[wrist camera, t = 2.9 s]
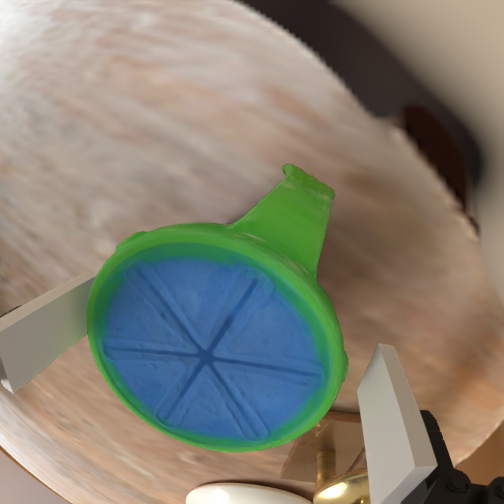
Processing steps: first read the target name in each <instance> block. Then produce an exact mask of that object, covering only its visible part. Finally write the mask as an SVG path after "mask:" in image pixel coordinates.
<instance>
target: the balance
mask: <svg viewBox="0 0 504 504" xmlns="http://www.w3.org/2000/svg"><path fill="white" fill-rule="evenodd" d="M364 447H365V443H364V435H363V428H362V421H361V414H357V413H347V412H339V411H331V410H328V412H327V413H326V415H325V416H324V417H323V418H322V419H321V420H320V421H319V422H318V423H317V424H316V425H315V426H314V427H313V428H311V430H309V431H307V432H306V433H304V434H302V435H301V436H299V437H297V439H296V441H295V443H294V445H293V448H292V450H291V452H290V454H289V456H288V458H287V460H286V462H285V464H284V466H283V468H282V472H281V478H283V479H290V480H297V481H306V482H315V493H314V500H313V504H371V500H370V489H369V478H368V468H363V469H358V470H354V471H351V472H348V473H346V472H347V471H348V469H349V468H350V467H351V465H352V464H353V462H354V461H355V460H356V458H357V457H358V455H359V454H360V452H361V451H362V449H363V448H364ZM400 504H401V503H400Z"/></svg>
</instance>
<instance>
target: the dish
mask: <svg viewBox="0 0 504 504" xmlns="http://www.w3.org/2000/svg"><path fill="white" fill-rule="evenodd" d="M186 504H313V503H312V502H311V501H309V500H307V499H306V498H303V497H301V496H299V495H297V494H294V493H291V492H288V491H284V490H280V489H276V488H271V487H266V486H260V485H253V484H243V483H213V484H206V485H201V486H198V487H196V488H194V489H192V490H191V491H190V492H189V494H188V496H187V498H186Z"/></svg>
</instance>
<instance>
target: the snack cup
mask: <svg viewBox="0 0 504 504" xmlns="http://www.w3.org/2000/svg"><path fill="white" fill-rule="evenodd" d="M282 169H283V172H284V174H285V175H286V178H285V179H284V180H283V181H281V182H280V183H279V185H277V186H276V187H275V188H274V189H273V190H272V191H271V192H270V193H269V194H268V195H267V196H266V197H265V198H263V199H262V200H261V201H260V202H259V203H258V204H257V205H256V206H255V207H254V208H252V209H251V210H250V211H249V212H248V213H247V214H246V215H245V216H243V217H242V218H241V219H239V220H238V221H236V222H235V223H230V224H226V225H223V224H215V223H183V224H178V225H171V226H166V227H162V228H159V229H156V230H153V231H150V232H144V231H142V232H137V233H135V234H132V235H131V236H130V237H128V238H127V239H125V240H124V241H123V242H122V243H120V244H119V245H117V247H116V252H115V253H114V254H113V255H112V256H111V257H110V258H109V259H108V260H107V261H106V262H105V264H104V265H103V267H102V268H101V269H100V271H99V272H98V274H97V276H96V277H95V279H94V282H93V284H92V287H91V289H90V293H89V297H88V302H87V310H86V324H87V333H88V339H89V343H90V347H91V350H92V353H93V356H94V358H95V361H96V363H97V366H98V368H99V369H100V371H101V373H102V375H103V377H104V378H105V380H106V382H107V383H108V385H109V386H110V387H111V389H112V390H113V391H114V392H115V394H116V395H117V396H118V398H119V399H120V400H121V401H122V402H123V403H124V404H125V405H126V406H127V407H128V408H129V409H130V410H131V411H132V412H133V413H135V414H136V415H137V416H138V417H140V418H141V419H142V420H144V421H145V422H147V423H148V424H149V425H151V426H152V427H154V428H155V429H157V430H159V431H161V432H163V433H165V434H167V435H169V436H171V437H173V438H175V439H177V440H180V441H183V442H185V443H188V444H191V445H194V446H197V447H201V448H206V449H210V450H216V451H225V452H248V451H257V450H263V449H268V448H272V447H276V446H279V445H282V444H285V443H287V442H289V441H292V440H294V439H295V438H297V437H299V436H301V435H302V434H304V433H306V432H307V431H309V430H311V428H313V427H314V426H315V425H316V424H317V423H318V422H319V421H320V420H321V419H322V418H323V417H324V416H325V415H326V413H327V412H328V410H329V409H330V407H331V406H332V404H333V403H334V401H335V399H336V397H337V394H338V392H339V389H340V386H341V384H342V383H343V382H344V380H345V377H346V374H347V371H348V357H347V354H346V352H345V351H344V345H343V337H342V333H341V329H340V325H339V322H338V319H337V317H336V314H335V311H334V308H333V306H332V304H331V302H330V300H329V298H328V296H327V294H326V293H325V291H324V290H323V288H322V287H321V285H320V284H319V282H318V281H317V267H318V262H319V258H320V254H321V251H322V247H323V242H324V238H325V234H326V229H327V225H328V219H329V216H330V211H331V205H332V199H334V197H335V193H334V191H333V189H331V188H330V187H328V186H327V185H325V184H324V183H322V182H320V181H318V180H317V179H315V178H314V177H313V176H311V175H309V174H307V173H305V172H304V171H303V170H302V169H300V168H298V167H296V166H294V165H291V164H286V165H285V166H283V168H282Z"/></svg>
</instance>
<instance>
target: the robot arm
mask: <svg viewBox="0 0 504 504" xmlns="http://www.w3.org/2000/svg"><path fill="white" fill-rule="evenodd" d="M96 276H97V275H96V274H93V273H90V272H87V271H85V272H83V273H81V274H79V275H78V276H76V277H74V278H72V279H70V280H68V281H66V282H64V283H62V284H60V285H59V286H57V287H55V288H53V289H51V290H49V291H47V292H46V293H44V294H42V295H40V296H38V297H36V298H35V299H33V300H31V301H29V302H27V303H26V304H24V305H21V306H17V307H15V308H14V309H12V310H10V311H9V312H8V313H7V312H6V313H5V314H3V315H2V317H1V316H0V380H1V383H2V385H3V386H4V387H5V388H6V389H7V390H9V391H10V392H11V393H13V394H15V393H16V392H17V391H19V390H20V389H21V388H22V387H23V386H24V385H26V384H27V383H28V382H29V381H30V380H31V379H33V378H34V377H35V376H36V375H37V374H39V373H40V372H41V371H42V370H43V369H45V368H46V367H47V366H48V365H49V364H51V363H52V362H53V361H54V360H55V359H57V358H58V357H59V356H60V355H61V354H63V353H64V352H65V351H66V350H68V349H69V348H70V347H71V346H72V345H74V344H75V343H76V342H77V341H79V340H80V339H81V338H82V337H84V336H85V335H86V334H87V324H86V310H87V302H88V297H89V293H90V289H91V287H92V284H93V282H94V279H95V277H96ZM357 395H358V401H359V408H360V414H361V421H362V428H363V435H364V443H365V451H366V459H367V468H368V478H369V489H370V500H371V504H400V503H401V504H504V477H497V478H495V479H494V480H493V481H492V482H491V483H490V484H489V485H487V486H486V485H479V484H472V483H471V481H470V479H469V478H468V476H467V475H466V474H465V473H463V472H462V471H459V470H457V469H454V468H453V465H452V462H451V459H450V456H449V453H448V450H447V447H446V445H445V442H444V440H443V436H442V434H441V432H440V428H439V426H438V423H437V421H436V419H435V418H434V417H433V415H432V414H431V413H430V412H429V411H428V410H419V408H418V405H417V402H416V400H415V397H414V394H413V392H412V389H411V387H410V384H409V382H408V379H407V376H406V374H405V371H404V369H403V367H402V364H401V362H400V359H399V357H398V355H397V352H396V350H395V347H394V345H387V344H381V343H378V345H377V347H376V349H375V352H374V354H373V356H372V359H371V361H370V363H369V366H368V368H367V370H366V372H365V375H364V377H363V379H362V381H361V383H360V385H359V388H358V390H357Z"/></svg>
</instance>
